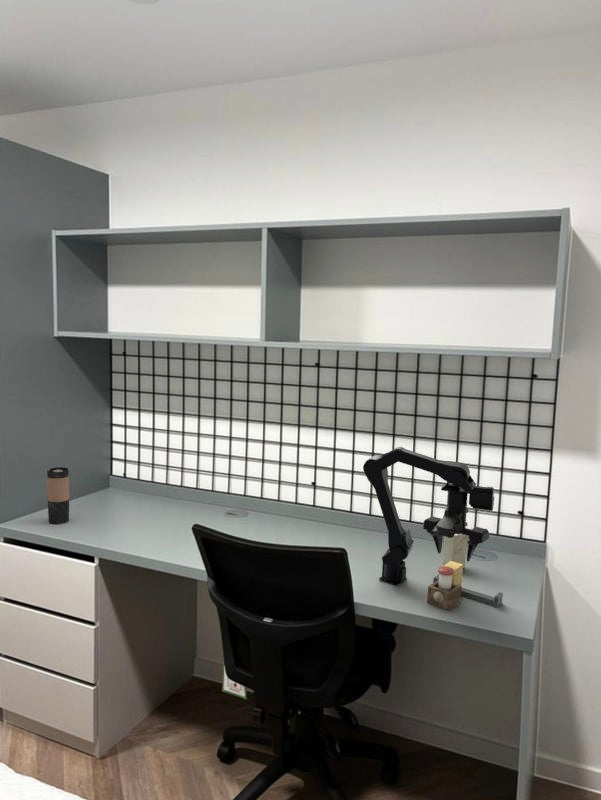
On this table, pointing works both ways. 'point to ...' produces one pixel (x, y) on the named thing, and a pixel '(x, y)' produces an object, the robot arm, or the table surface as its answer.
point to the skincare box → (455, 549)
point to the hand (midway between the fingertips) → (453, 557)
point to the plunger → (445, 577)
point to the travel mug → (58, 495)
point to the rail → (479, 596)
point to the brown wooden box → (444, 596)
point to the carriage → (456, 572)
